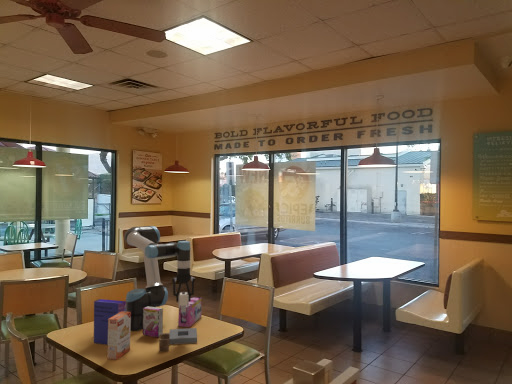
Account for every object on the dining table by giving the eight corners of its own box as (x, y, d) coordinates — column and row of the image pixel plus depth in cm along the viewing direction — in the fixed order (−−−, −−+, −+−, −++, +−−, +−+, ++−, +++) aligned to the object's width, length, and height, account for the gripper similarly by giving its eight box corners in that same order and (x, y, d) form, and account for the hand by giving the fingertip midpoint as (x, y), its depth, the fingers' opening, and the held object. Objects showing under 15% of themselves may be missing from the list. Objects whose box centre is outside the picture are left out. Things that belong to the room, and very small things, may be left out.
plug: (179, 312, 227) (179, 293, 227) (179, 309, 233) (179, 290, 234) (187, 312, 228) (187, 293, 228) (187, 309, 234) (187, 290, 234)
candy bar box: (142, 335, 235) (142, 308, 235) (147, 332, 240) (147, 305, 240) (158, 337, 231) (158, 310, 231) (163, 335, 236) (163, 307, 236)
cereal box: (125, 343, 223) (126, 301, 223) (120, 346, 218) (121, 303, 218) (99, 340, 227) (99, 298, 227) (93, 343, 223) (94, 300, 223)
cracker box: (117, 360, 200) (118, 319, 200) (106, 359, 201) (107, 318, 201) (131, 349, 214) (131, 311, 214) (120, 348, 215) (121, 310, 215)
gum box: (188, 328, 249) (188, 306, 249) (177, 327, 251) (177, 305, 251) (201, 316, 272) (201, 297, 272) (191, 315, 274) (191, 296, 274)
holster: (159, 351, 212) (159, 340, 212) (160, 344, 222) (160, 333, 222) (168, 350, 213) (168, 339, 213) (169, 343, 223) (169, 333, 223)
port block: (168, 344, 222) (168, 339, 222) (169, 334, 237) (169, 329, 237) (197, 342, 224) (197, 337, 224) (196, 332, 240) (196, 328, 240)
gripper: (168, 269, 226) (168, 309, 226) (198, 268, 229) (198, 308, 229) (168, 266, 233) (168, 306, 233) (198, 265, 236) (198, 304, 236)
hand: (183, 307), depth 231 cm, fingers closed on plug, 4 cm apart
